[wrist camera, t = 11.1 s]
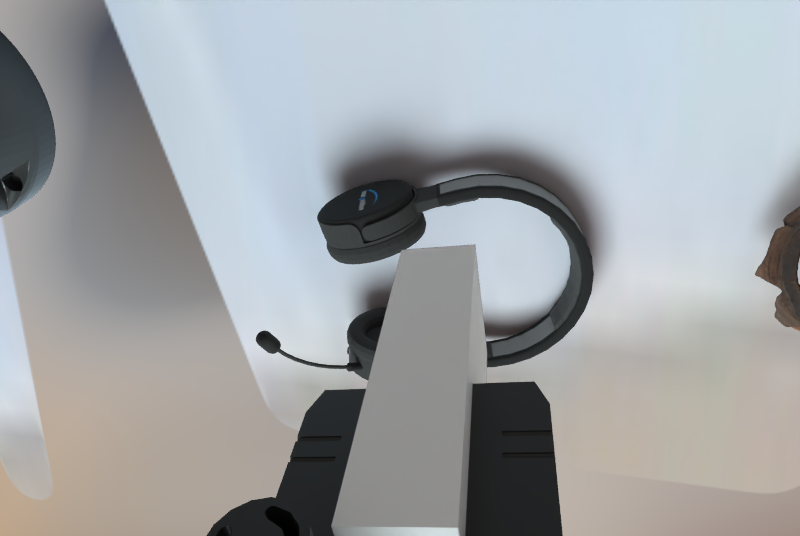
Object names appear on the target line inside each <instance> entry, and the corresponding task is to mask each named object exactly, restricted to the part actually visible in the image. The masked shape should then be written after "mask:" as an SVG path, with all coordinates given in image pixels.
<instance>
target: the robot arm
mask: <svg viewBox="0 0 800 536" xmlns="http://www.w3.org/2000/svg"><path fill="white" fill-rule="evenodd" d="M55 146H56V142H55V130H54V123H53V119H52V115H51V111H50V108H49V105H48V102H47V99H46V97H45V94H44V92H43V90H42V88H41V86H40V84H39V82H38V80H37V78H36V76H35V75H34V73H33V71H32V70H31V68H30V66H29V65H28V63H27V62H26V61H25V59H24V58H23V56H22V55H21V54H20V53H19V51H18V50H17V49H16V48H15V46H14V45H13V44H12V43H11V42H10V41H9V40H8V39H7V38H6V36H5V35H4V34H3V33H1V31H0V217H1V216H4V215H6V214H8V213H9V212H11V211H13V210H14V209H16V208H17V207H19V206H20V205H22V204H23V203H25V202H26V201H27V200H29V199H30V198H32V197H33V196H34V195H35V194H36V193H37V192H38V191H39V190H40V189H41V188H42V186H43V185H44V184H45V182H46V180H47V179H48V177H49V175H50V172H51V169H52V166H53V162H54V157H55ZM486 378H487V347H486V338H485V329H484V320H483V310H482V301H481V292H480V283H479V274H478V265H477V256H476V247H475V245H461V246H447V247H434V248H420V249H406V250H401V254H400V258H399V262H398V266H397V270H396V274H395V278H394V281H393V285H392V289H391V293H390V297H389V301H388V305H387V309H386V313H385V317H384V321H383V325H382V329H381V333H380V337H379V341H378V344H377V348H376V352H375V356H374V360H373V364H372V368H371V372H370V376H369V380H368V384H367V388H366V389H348V390H325V391H324V392H323V393H322V395H321V396H320V397H319V398H318V399H317V400H316V401H315V403H314V404H313V405H312V406H311V407H310V408H309V409H308V410H307V412H306V414H305V417H304V420H303V422H302V425H301V428H300V431H299V434H298V441H297V442H295V445H294V448H293V451H292V454H291V456H290V458H291V460H290V462H288V465H287V468H286V471H285V473H284V476H283V479H282V482H281V485H280V487H279V490H278V493H277V496H276V498H273V497H270V498H264V499H257V500H251V501H249V502H247V503H245V504H243V505H241V506H238V507H236V508H234V509H232V510H230V511H229V512H228V513H227V514H226V515H225V516H224V517H222V518H221V519H220V520H219V521H218V522H217V523H215V524H214V525H213V527H212V528H211V530H210V531H209V533H208V534H207V536H562V526H561V515H560V504H559V495H558V485H557V474H556V463H555V453H554V442H553V433H552V422H551V411H550V403H549V402H548V401H547V399H546V398H545V396H544V395H543V393H542V392H541V390H540V389H539V388H538V386H537V385H536V383H535V382H508V383H486Z"/></svg>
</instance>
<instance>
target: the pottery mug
mask: <svg viewBox="0 0 800 536" xmlns="http://www.w3.org/2000/svg"><path fill="white" fill-rule="evenodd" d="M784 224H785V226H784V227H781V228H778V229H777V230H776V231H775V233H774V235H773V237H772V239H771V242H770V246H769V248H768V252H767V254H766V256H765V258H764V260H763V262H762V264H761V265H760V266H759V267H758V269H757V271H756V273H755V275H756V276H758V277H761V278H762V279H764V280H765V281H767V282H769V283H771V284H773V285H775V286H777V287H778V288H780V289H781V290H782V293H781V294H780V295H779V296H778V297H777V298H776V302H775V307H776V312H775V318H776V319H777V320H778V321H779V322H781V323H782V324H783V325H784V326H786V327H792V328H794V329H796V330H798V331H800V285H799V283H798V277H797V270H798V262H799V258H800V206H799V207H798V208H797V209H796V210H794V211H793V212H792V213H790V214H789V215H787V216H786V217H785V219H784Z"/></svg>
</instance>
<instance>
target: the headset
mask: <svg viewBox="0 0 800 536" xmlns="http://www.w3.org/2000/svg"><path fill="white" fill-rule="evenodd" d="M478 198H503V199H508V200H514V201H519V202H522V203H524V204H527V205H529V206H532V207H535V208H537V209H539V210H540V211H542V212H544V213H545V214H547V215H548V216H550V218H551V220H552V222H553V224H554V225H555V226H556V227H557V228H558V229H559V230H560V231H561V233H562V234H563V236H564V237H565V239H566V240H567V243H568V246H569V250H570V259H571V266H570V276H569V279H568V282H567V285H566V288H565V290H564V292H563V294H562V296H561V297H560V299H559V301H558V303H557V304H556V305H555V306H554V307H553V308H552V310H551V311H550V314H548V315H547V316H546V317H545V318H543V319H542V320H541V321H540V322H538V323H537V324H536V325H534V326H532V327H530V328H529V329H527V330H525V331H523V332H521V333H519V334H516V335H513V336H510V337H508V338H504V339H499V340H494V341H486V347H487V367H497V366H503V365H509V364H514V363H517V362H520V361H523V360H526V359H529V358H532V357H534V356H536V355H538V354H540V353H542V352H544V351H546V350H547V349H549V348H550V347H552V346H553V345H554V344H556V343H557V342H558V341H560V340H561V339H562V338H563V337H564V336H565V335H566V334H567V333H568V332H569V331H570V330H571V329H572V328H573V327H574V326H575V324H576V323H577V321H578V320H579V318H580V316H581V315H582V313H583V312H584V310H585V308H586V305H587V303H588V300H589V297H590V295H591V291H592V283H593V276H594V274H593V264H592V256H591V253H590V251H589V248H588V245H587V242H586V239H585V237H584V235H583V233H582V231H581V229H580V227H579V224H578V223H577V221H576V220H575V218H574V216H573V215H572V213H571V212H570V210H569V209H568V207H567V206H566V205H565V204H564V203H562V202H561V201H560V200H559V199H558V198H557V197H556V196H555V195H554V194H552V193H551V192H549V191H548V190H546V189H544V188H543V187H541V186H540V185H538V184H535V183H533V182H530V181H527V180H525V179H522V178H519V177H514V176H508V175H502V174H476V175H471V176H466V177H461V178H456V179H452V180H449V181H445V182H442V183H439V184H436V185H433V186H430V187H425V188H420V189H415V188H414V187H412V186H410V185H409V184H407V183H406V182H403V181H397V180H388V181H380V182H375V183H370V184H367V185H363V186H360V187H357V188H354V189H352V190H349V191H347V192H345V193H343V194H341V195H339V196H337V197H335V198H334V199H332V200H331V201H329V202H328V203H327V204H326V205H325V206H324V207H323V208H322V209H321V211H320V212H319V214H318V217H317V219H318V222H319V224H320V227H321V229H322V232H323V234H324V237H325V239H326V241H327V249H328V251H329V253H330V255H331V256H332V257H333V258H334V259H335V260H337V261H338V262H341V263H344V264H363V263H369V262H374V261H378V260H382V259H385V258H387V257H390V256H393V255H395V254H397V253H400V252H401V250H405V249H407V248H409V247H410V246H412V245H413V244H414V243H416V242H417V241H418V240H419V239H420V238H421V237H422V235H423V234H424V232H425V228H426V221H425V218H424V214H423V213H422V212H423V211H426V210H429V209H432V208H435V207H439V206H440V207H441V206H445V205H446V206H452V205H456V204H459V203H463V202H469V201H475V200H477V199H478ZM386 309H387V308H381V309H375V310H371V311H368V312H365V313H363V314H361V315H359V316H358V317H356V318H355V319H354V320H353V321H352V322H351V324H350V326H349V328H348V331H347V340H348V344H349V347H348V350H347V354H349V363H348V364H347V365H343V366H342V365H325V364H317V363H313V362H308V361H305V360H302V359H299V358H296V357H294V356H292V355H290V354H287V353H286V352H284V351H282V350H281V349H280V347H281V344H280V342H279V340H278V339H277V338H275V337H274V336H273V335H272V334H271V333H270V332H268V331H261V332H259V333H258V335H257V337H256V342H257V343H258V345H259V346H261V347H262V348H263V349H264V350H266V351H267V352H268V353H271V354H274V353H276V352H279V353H281V354H282V355H284V356H285V357H288V358H290V359H292V360H294V361H297V362H300V363H303V364H306V365H310V366H315V367H321V368H331V369H347V370H348V371H354V372H355V373H356V374H358V375H359V376H361V377H362V378H364V379H366V380H369V376H370V372H371V368H372V364H373V360H374V356H375V352H376V348H377V344H378V341H379V337H380V333H381V329H382V325H383V321H384V317H385V313H386Z"/></svg>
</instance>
